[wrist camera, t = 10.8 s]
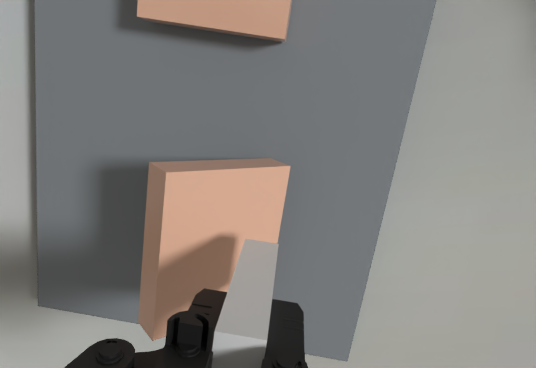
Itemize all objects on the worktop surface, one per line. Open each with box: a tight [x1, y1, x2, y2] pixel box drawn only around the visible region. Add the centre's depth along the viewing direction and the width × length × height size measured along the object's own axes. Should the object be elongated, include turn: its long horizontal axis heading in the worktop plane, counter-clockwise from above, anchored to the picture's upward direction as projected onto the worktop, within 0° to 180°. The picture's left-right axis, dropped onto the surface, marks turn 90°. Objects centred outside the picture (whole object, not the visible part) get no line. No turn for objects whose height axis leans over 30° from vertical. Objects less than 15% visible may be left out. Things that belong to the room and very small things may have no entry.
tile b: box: [138, 158, 291, 341], centre depth 20 cm, size 8×2×7 cm
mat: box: [34, 0, 436, 361], centre depth 21 cm, size 30×20×1 cm, turn 171°
